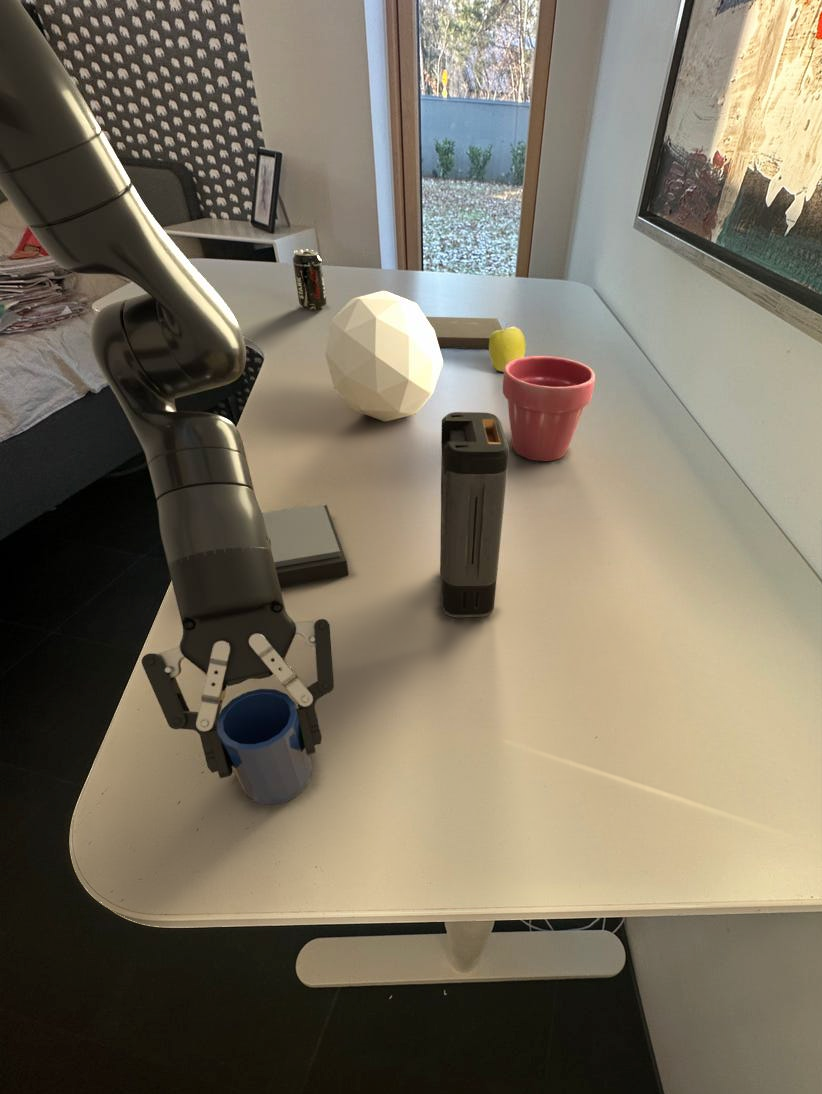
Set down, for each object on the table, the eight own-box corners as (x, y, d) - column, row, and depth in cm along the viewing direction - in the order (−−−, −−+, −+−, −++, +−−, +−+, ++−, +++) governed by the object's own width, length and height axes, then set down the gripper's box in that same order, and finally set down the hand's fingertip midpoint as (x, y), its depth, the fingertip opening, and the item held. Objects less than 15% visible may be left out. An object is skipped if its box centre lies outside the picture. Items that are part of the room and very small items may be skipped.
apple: (535, 368, 120) (527, 319, 112) (501, 383, 119) (491, 335, 112) (520, 356, 125) (511, 308, 118) (487, 370, 125) (477, 323, 117)
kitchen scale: (217, 599, 64) (209, 578, 62) (211, 536, 73) (204, 516, 71) (348, 575, 69) (345, 555, 67) (328, 518, 77) (325, 499, 75)
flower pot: (512, 424, 102) (520, 348, 93) (588, 440, 99) (603, 363, 90) (486, 458, 92) (491, 377, 83) (569, 476, 89) (584, 394, 80)
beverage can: (305, 312, 143) (297, 255, 134) (295, 305, 147) (287, 249, 138) (331, 309, 146) (324, 254, 137) (320, 302, 150) (314, 248, 141)
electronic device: (439, 569, 70) (440, 410, 56) (486, 568, 71) (499, 410, 57) (443, 620, 64) (445, 453, 50) (495, 618, 65) (512, 454, 51)
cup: (245, 814, 46) (218, 758, 40) (239, 756, 50) (214, 699, 44) (317, 792, 48) (301, 737, 42) (306, 739, 52) (290, 681, 46)
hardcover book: (404, 326, 139) (404, 316, 137) (496, 328, 142) (497, 318, 140) (406, 348, 128) (406, 337, 126) (506, 350, 131) (507, 339, 129)
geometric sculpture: (362, 446, 107) (299, 342, 100) (450, 394, 109) (395, 289, 102) (372, 438, 90) (297, 311, 83) (477, 376, 92) (413, 247, 85)
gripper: (100, 563, 38) (158, 803, 39) (315, 529, 43) (365, 746, 43) (132, 578, 46) (181, 780, 46) (313, 548, 50) (356, 733, 50)
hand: (270, 762), depth 45 cm, fingers closed on cup, 6 cm apart
